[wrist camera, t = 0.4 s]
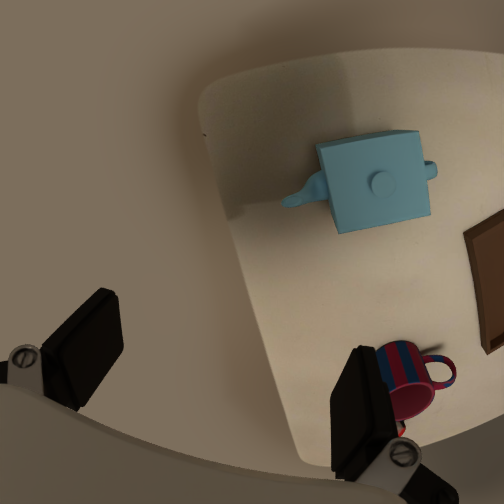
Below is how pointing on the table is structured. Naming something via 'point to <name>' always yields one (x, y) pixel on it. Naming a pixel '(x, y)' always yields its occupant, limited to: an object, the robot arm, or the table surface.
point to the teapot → (370, 180)
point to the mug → (410, 377)
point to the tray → (488, 278)
